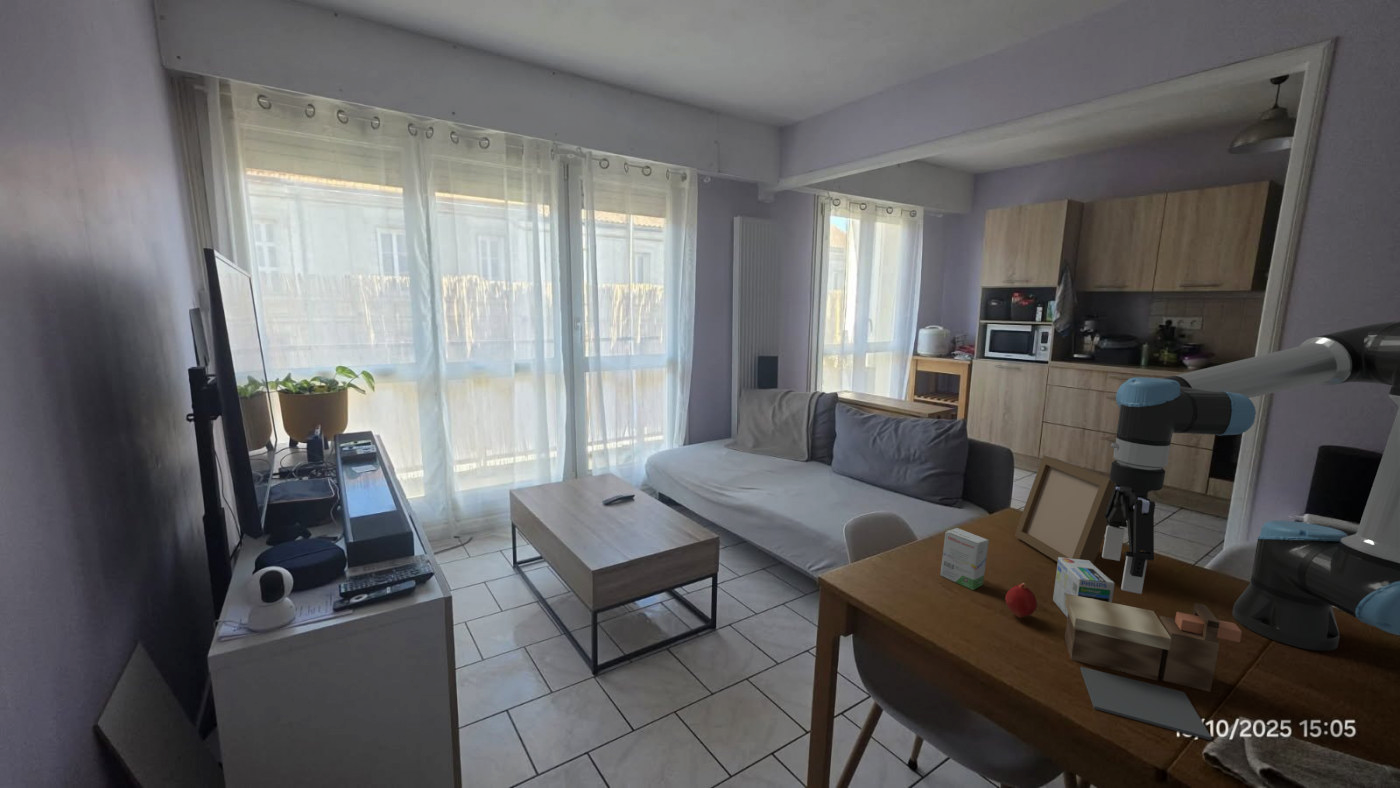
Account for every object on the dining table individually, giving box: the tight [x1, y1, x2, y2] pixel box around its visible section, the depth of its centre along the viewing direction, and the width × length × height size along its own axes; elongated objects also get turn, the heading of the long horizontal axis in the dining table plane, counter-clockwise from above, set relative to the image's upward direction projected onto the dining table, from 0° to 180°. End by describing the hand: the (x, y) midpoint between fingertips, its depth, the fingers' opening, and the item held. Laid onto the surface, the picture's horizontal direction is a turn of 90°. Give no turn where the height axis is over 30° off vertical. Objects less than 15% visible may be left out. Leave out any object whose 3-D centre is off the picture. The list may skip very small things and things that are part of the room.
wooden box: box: [1064, 602, 1221, 692], centre depth 100 cm, size 20×7×13 cm, turn 65°
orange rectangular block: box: [1174, 611, 1243, 643], centre depth 95 cm, size 8×3×2 cm, turn 65°
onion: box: [1004, 582, 1038, 619], centre depth 115 cm, size 6×6×8 cm
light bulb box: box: [1052, 557, 1115, 618], centre depth 116 cm, size 11×7×11 cm, turn 168°
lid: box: [1065, 594, 1171, 650], centre depth 101 cm, size 14×10×2 cm
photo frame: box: [1014, 455, 1115, 565], centre depth 143 cm, size 15×22×25 cm
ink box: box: [939, 527, 990, 591], centre depth 130 cm, size 9×5×12 cm, turn 34°
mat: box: [1080, 666, 1213, 741], centre depth 91 cm, size 15×11×1 cm
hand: (1120, 574), depth 99 cm, fingers open, 13 cm apart
